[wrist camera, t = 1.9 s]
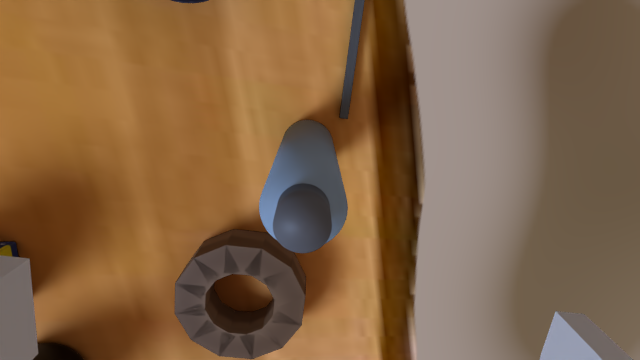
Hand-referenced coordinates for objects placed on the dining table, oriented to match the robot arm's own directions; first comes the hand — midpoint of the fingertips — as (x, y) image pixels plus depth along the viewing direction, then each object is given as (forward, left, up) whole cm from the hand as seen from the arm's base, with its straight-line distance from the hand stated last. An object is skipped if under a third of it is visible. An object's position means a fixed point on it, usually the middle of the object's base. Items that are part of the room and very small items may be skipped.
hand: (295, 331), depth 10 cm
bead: (+13, -4, -22) cm, 26 cm away
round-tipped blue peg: (0, 0, -22) cm, 22 cm away
